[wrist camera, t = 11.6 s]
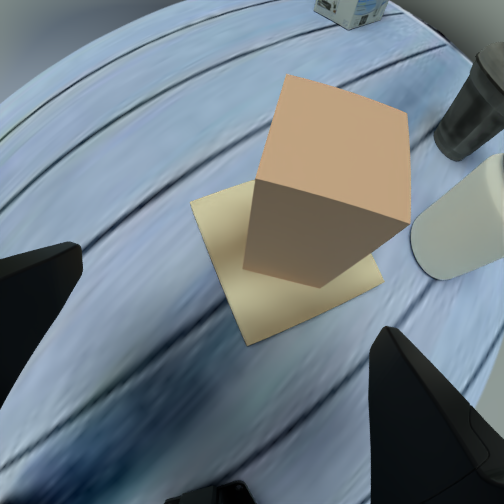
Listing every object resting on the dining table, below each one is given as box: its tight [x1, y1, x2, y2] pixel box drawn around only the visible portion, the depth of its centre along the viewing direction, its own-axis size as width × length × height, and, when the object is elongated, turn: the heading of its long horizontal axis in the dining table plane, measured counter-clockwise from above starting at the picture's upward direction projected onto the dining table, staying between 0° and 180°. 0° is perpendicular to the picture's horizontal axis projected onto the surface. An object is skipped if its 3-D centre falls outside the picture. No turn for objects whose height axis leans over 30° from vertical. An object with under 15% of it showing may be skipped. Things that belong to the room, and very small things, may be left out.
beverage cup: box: [434, 42, 504, 161], centre depth 18 cm, size 7×7×20 cm
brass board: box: [190, 180, 384, 346], centre depth 23 cm, size 11×11×1 cm
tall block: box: [242, 74, 411, 289], centre depth 16 cm, size 6×6×12 cm
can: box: [411, 153, 504, 280], centre depth 18 cm, size 6×6×12 cm
